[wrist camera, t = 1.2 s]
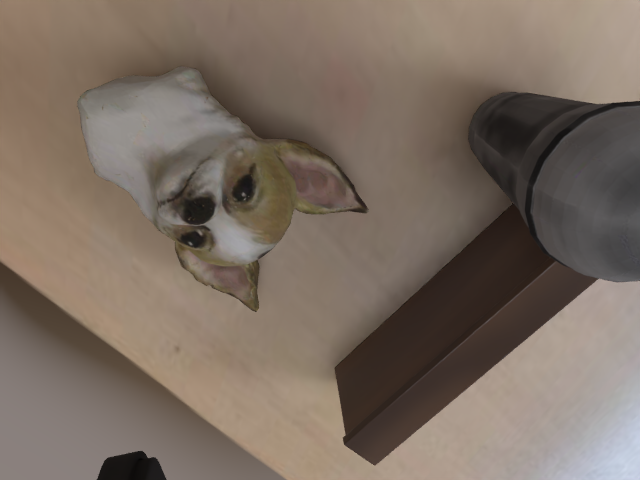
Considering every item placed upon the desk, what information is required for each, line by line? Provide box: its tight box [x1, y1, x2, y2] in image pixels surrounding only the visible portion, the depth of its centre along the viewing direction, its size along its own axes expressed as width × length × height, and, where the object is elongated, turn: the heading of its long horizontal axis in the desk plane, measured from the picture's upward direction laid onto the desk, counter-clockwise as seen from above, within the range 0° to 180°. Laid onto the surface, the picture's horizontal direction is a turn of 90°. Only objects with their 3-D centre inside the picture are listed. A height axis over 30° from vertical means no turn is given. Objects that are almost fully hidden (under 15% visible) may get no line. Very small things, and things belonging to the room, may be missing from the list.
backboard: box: [335, 204, 599, 465], centre depth 34 cm, size 3×20×8 cm, turn 137°
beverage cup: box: [469, 92, 640, 282], centre depth 24 cm, size 7×7×20 cm
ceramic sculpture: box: [78, 66, 369, 312], centre depth 29 cm, size 11×9×15 cm
